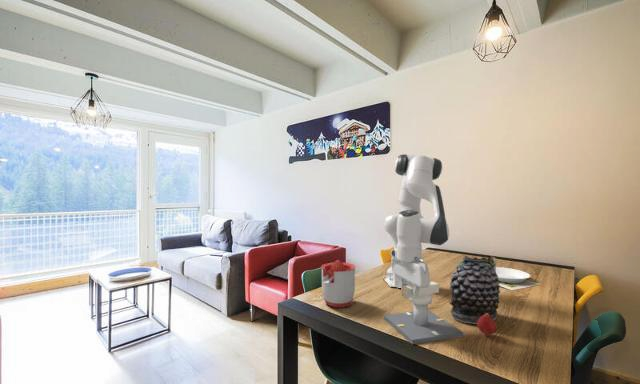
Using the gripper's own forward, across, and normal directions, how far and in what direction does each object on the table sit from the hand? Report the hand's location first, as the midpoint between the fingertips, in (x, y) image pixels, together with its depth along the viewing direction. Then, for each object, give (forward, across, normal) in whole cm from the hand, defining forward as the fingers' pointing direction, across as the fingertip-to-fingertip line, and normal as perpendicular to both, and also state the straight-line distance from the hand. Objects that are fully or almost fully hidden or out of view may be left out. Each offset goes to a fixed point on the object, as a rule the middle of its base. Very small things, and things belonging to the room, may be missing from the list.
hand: (409, 292), depth 106 cm
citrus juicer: (+14, +30, +18) cm, 38 cm away
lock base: (+13, 0, -4) cm, 14 cm away
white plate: (+14, +40, -86) cm, 95 cm away
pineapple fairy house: (+14, +1, -30) cm, 32 cm away
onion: (+14, -12, -22) cm, 29 cm away
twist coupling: (+4, 0, -4) cm, 6 cm away
